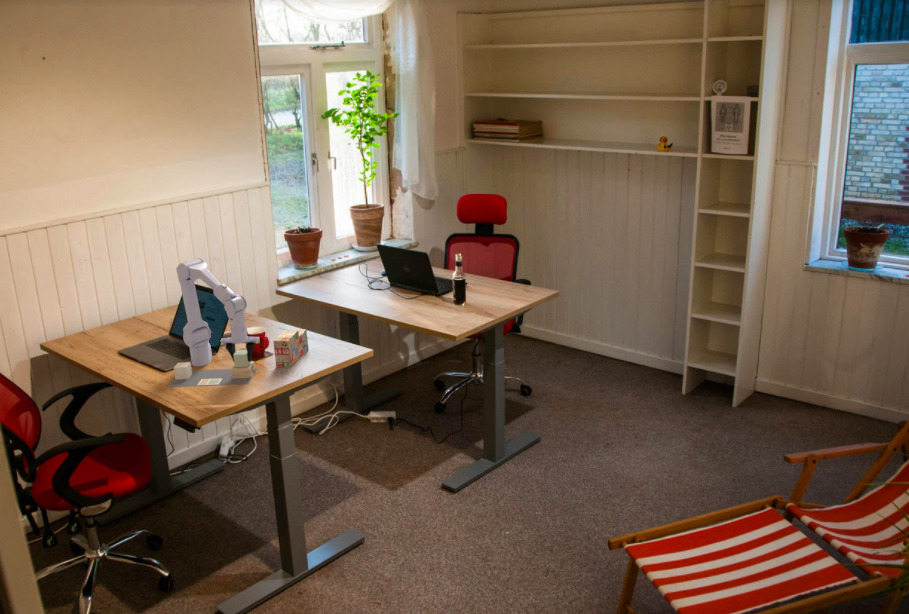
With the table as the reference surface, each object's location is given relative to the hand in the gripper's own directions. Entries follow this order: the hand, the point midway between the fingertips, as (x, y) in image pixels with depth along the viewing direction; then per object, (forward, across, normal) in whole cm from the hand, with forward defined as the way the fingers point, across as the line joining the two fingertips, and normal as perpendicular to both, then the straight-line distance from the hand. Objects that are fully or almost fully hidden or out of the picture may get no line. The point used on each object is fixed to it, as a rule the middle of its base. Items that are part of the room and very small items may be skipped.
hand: (242, 360), depth 301 cm
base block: (+6, 0, 0) cm, 6 cm away
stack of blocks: (+7, +16, +17) cm, 24 cm away
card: (+6, -12, -6) cm, 14 cm away
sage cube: (+2, 0, 0) cm, 2 cm away
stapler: (+7, -21, +40) cm, 45 cm away
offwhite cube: (+6, -24, 0) cm, 24 cm away
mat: (+7, -12, -2) cm, 13 cm away
